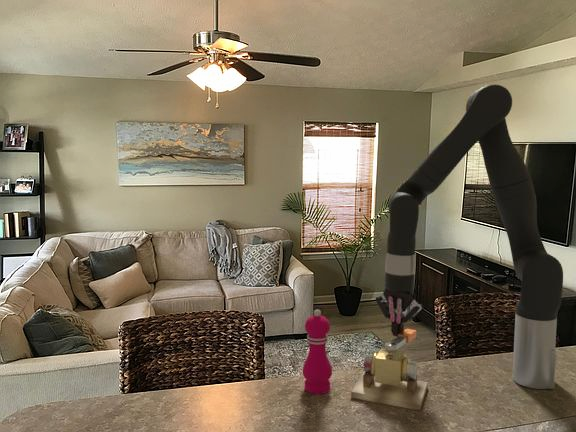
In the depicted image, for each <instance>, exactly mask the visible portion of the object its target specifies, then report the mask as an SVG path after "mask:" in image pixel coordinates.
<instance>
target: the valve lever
mask: <svg viewBox="0 0 576 432" xmlns="http://www.w3.org/2000/svg"><path fill="white" fill-rule="evenodd" d="M416 338H417V330H416V329H413V328H412V329H411V328H406V329H405V328H404V331H402V332H401V333H399V336H398V337H395V338H394V339H393V340H391V341H390V342H385V343H384V349H385V351H386V352H389V353H394V352H396V351H398V349H399V348H401V347H402V346H404V345H405V344H410V342H412V341H414V339H416Z"/></svg>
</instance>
